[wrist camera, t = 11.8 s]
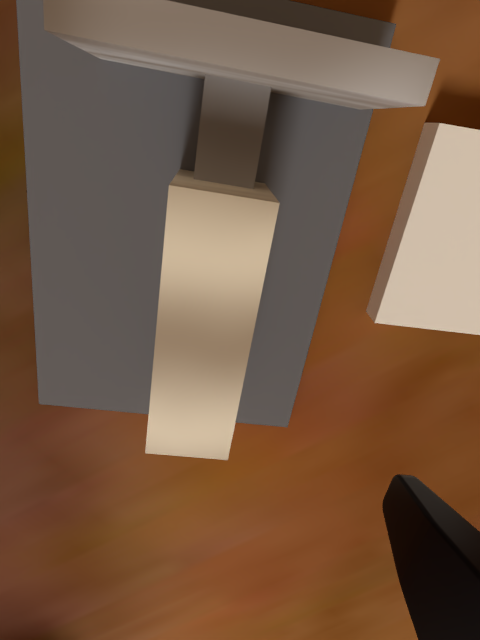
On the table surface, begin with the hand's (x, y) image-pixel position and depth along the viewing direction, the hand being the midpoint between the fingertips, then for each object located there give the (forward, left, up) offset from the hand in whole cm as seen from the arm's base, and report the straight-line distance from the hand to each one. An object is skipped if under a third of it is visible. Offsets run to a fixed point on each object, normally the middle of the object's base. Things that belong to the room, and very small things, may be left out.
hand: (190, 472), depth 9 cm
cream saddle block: (+2, 0, -10) cm, 10 cm away
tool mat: (+2, +1, -11) cm, 11 cm away
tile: (0, -11, -10) cm, 15 cm away
